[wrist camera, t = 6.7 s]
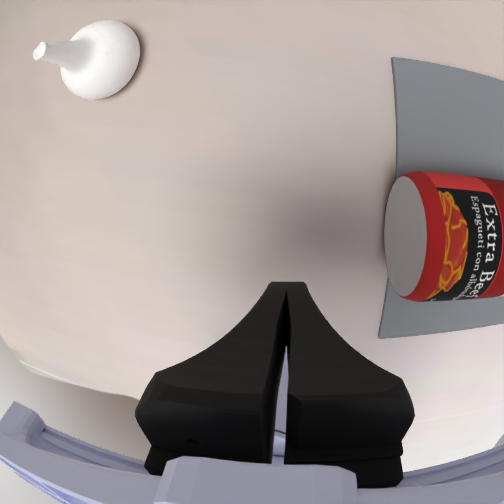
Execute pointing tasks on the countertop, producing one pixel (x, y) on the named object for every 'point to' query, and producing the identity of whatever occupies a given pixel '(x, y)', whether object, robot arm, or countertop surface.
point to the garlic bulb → (95, 58)
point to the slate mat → (445, 171)
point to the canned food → (445, 237)
